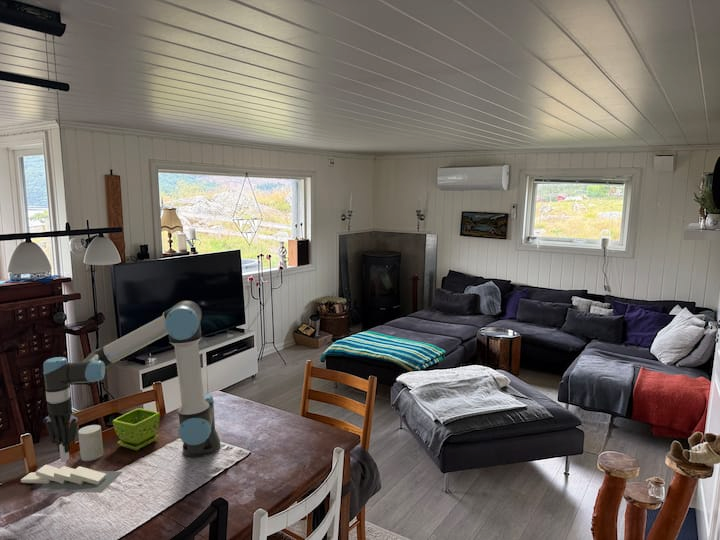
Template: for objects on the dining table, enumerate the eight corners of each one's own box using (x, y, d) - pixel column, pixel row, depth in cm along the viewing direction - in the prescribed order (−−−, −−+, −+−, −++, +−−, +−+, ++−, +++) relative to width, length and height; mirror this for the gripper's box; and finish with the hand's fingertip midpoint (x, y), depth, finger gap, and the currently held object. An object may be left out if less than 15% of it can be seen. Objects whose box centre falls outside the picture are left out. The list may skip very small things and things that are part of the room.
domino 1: (57, 472, 187) (30, 472, 188) (48, 479, 182) (20, 479, 183) (58, 475, 187) (31, 476, 188) (48, 483, 182) (21, 483, 183)
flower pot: (140, 433, 222) (138, 407, 221) (163, 439, 216) (161, 412, 215) (113, 447, 210) (111, 419, 208) (136, 454, 204) (133, 425, 202)
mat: (123, 472, 190) (123, 471, 190) (101, 493, 176) (101, 492, 176) (62, 470, 192) (62, 469, 192) (36, 491, 178) (35, 490, 178)
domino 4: (106, 473, 185) (79, 466, 186) (98, 481, 181) (70, 473, 181) (105, 477, 186) (78, 469, 186) (97, 485, 181) (69, 477, 181)
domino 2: (72, 472, 187) (45, 464, 187) (63, 480, 182) (36, 471, 182) (72, 476, 187) (45, 468, 187) (63, 483, 182) (35, 475, 182)
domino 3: (90, 473, 186) (63, 465, 187) (82, 480, 181) (54, 472, 182) (89, 477, 186) (62, 469, 187) (81, 484, 181) (53, 476, 182)
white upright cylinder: (93, 462, 198) (90, 434, 196) (76, 461, 199) (73, 433, 198) (107, 452, 206) (105, 425, 204) (90, 451, 207) (88, 424, 206)
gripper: (82, 396, 183) (88, 455, 187) (49, 395, 185) (55, 454, 188) (68, 404, 176) (75, 465, 179) (34, 403, 177) (41, 464, 180)
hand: (65, 460), depth 183 cm, fingers closed
